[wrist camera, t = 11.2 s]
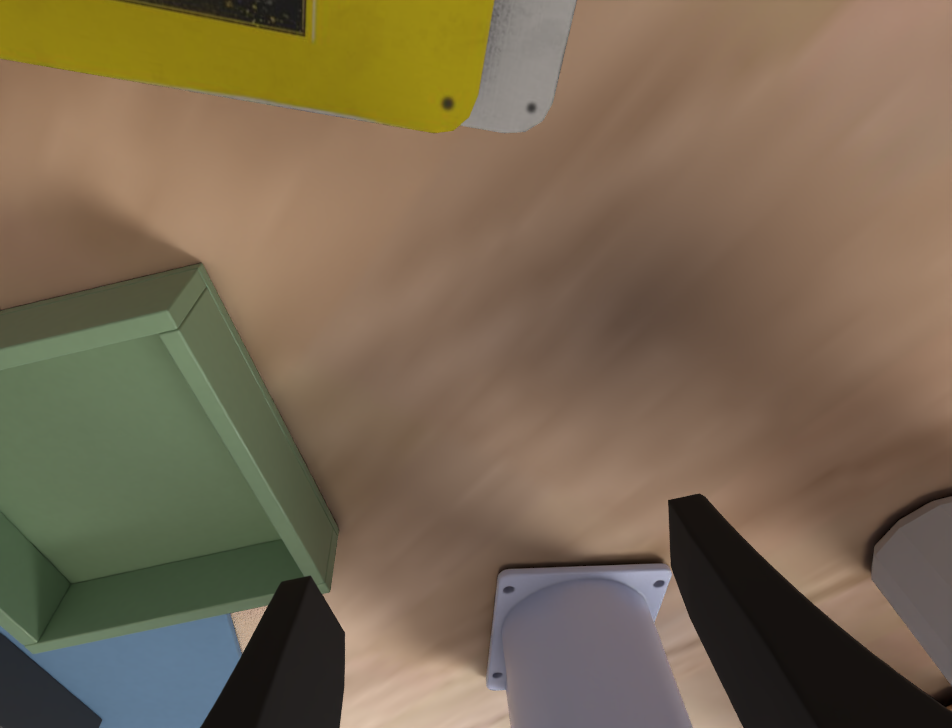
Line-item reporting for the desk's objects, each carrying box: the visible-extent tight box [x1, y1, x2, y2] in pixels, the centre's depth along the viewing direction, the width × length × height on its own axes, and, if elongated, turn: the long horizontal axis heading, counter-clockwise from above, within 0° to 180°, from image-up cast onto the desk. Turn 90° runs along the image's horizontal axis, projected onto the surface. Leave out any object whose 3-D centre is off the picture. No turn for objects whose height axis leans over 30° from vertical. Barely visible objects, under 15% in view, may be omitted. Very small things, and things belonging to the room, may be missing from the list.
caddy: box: [0, 263, 339, 654], centre depth 20 cm, size 12×12×3 cm
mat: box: [0, 613, 242, 728], centre depth 29 cm, size 14×22×1 cm, turn 87°
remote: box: [0, 633, 102, 728], centre depth 26 cm, size 8×3×3 cm, turn 12°
